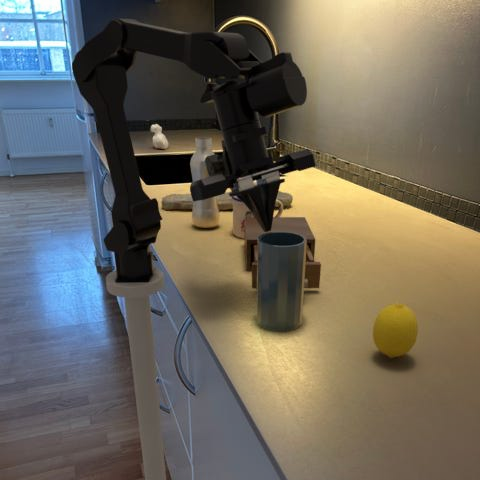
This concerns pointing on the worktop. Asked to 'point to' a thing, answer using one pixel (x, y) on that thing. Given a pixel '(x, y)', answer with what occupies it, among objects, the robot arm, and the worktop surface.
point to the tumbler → (280, 280)
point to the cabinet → (278, 225)
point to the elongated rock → (223, 201)
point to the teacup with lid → (245, 215)
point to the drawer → (310, 270)
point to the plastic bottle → (203, 210)
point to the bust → (159, 137)
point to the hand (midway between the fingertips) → (267, 231)
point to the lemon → (395, 330)
